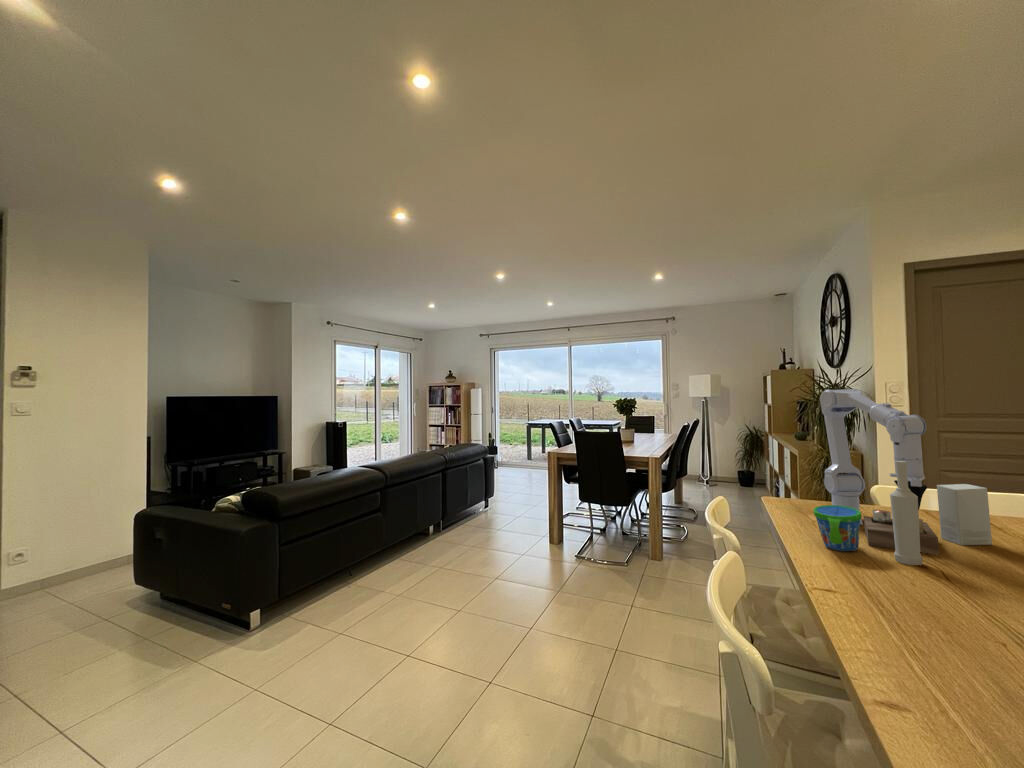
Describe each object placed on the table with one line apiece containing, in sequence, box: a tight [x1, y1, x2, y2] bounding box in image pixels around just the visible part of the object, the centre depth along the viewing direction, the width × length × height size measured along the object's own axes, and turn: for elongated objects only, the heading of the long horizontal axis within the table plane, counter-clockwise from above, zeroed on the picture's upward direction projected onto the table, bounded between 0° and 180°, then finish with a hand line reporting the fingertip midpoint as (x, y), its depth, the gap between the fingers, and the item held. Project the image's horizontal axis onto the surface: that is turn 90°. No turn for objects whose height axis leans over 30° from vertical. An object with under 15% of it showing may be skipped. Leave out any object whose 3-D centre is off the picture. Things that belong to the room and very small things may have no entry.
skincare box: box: [936, 483, 993, 546], centre depth 118 cm, size 8×7×16 cm
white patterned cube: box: [872, 509, 892, 525], centre depth 124 cm, size 4×4×4 cm
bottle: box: [889, 461, 923, 566], centre depth 106 cm, size 5×5×25 cm
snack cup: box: [812, 504, 863, 552], centre depth 116 cm, size 16×10×10 cm
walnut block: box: [862, 515, 940, 556], centre depth 120 cm, size 16×14×4 cm
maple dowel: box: [919, 518, 924, 533], centre depth 116 cm, size 4×4×4 cm
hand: (911, 508), depth 116 cm, fingers open, 3 cm apart
